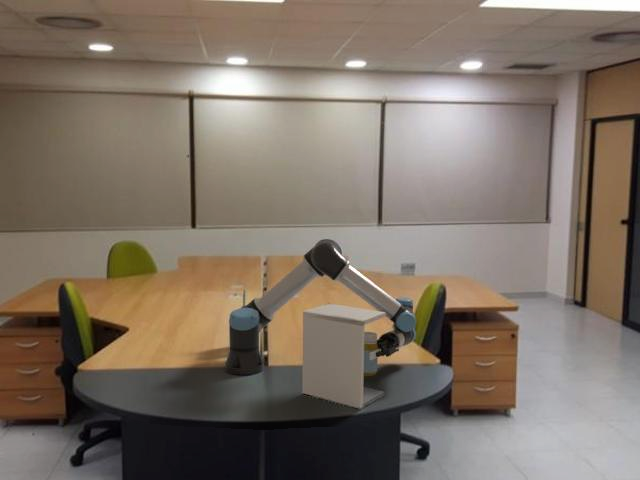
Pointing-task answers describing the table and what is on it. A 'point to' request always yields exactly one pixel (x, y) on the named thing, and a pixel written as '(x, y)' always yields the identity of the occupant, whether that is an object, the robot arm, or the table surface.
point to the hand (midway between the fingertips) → (361, 354)
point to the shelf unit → (336, 353)
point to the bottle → (369, 346)
